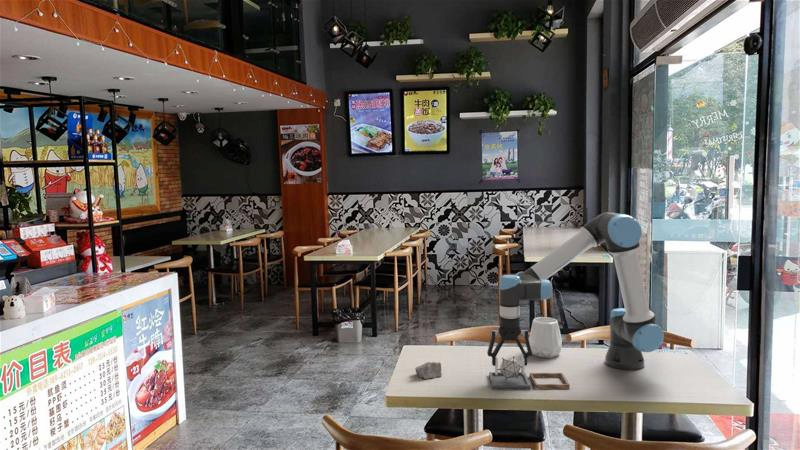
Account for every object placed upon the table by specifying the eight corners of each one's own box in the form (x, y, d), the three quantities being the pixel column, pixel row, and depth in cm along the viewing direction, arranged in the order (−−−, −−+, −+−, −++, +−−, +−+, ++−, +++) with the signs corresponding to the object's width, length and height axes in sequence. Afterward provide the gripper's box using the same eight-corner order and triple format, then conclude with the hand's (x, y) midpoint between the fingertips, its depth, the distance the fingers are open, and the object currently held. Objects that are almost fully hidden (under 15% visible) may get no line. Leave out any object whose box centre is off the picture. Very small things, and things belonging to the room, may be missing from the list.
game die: (514, 389, 229) (522, 374, 223) (492, 380, 230) (500, 364, 224) (518, 371, 236) (527, 356, 229) (498, 362, 237) (505, 347, 230)
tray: (524, 375, 237) (524, 372, 237) (531, 389, 223) (531, 385, 223) (489, 375, 238) (489, 372, 238) (492, 389, 224) (492, 385, 224)
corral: (562, 376, 236) (562, 372, 236) (569, 388, 223) (569, 384, 223) (529, 376, 236) (529, 372, 236) (535, 388, 224) (535, 384, 224)
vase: (529, 358, 258) (529, 323, 256) (527, 348, 271) (528, 315, 270) (563, 359, 255) (563, 324, 254) (560, 349, 269) (560, 316, 267)
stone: (437, 371, 244) (437, 357, 243) (443, 378, 236) (443, 364, 236) (414, 373, 242) (413, 359, 241) (419, 381, 234) (419, 366, 233)
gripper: (537, 313, 231) (536, 370, 233) (479, 313, 232) (479, 370, 234) (540, 318, 223) (540, 377, 226) (481, 318, 224) (481, 377, 227)
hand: (509, 373), depth 230 cm, fingers closed on game die, 9 cm apart
